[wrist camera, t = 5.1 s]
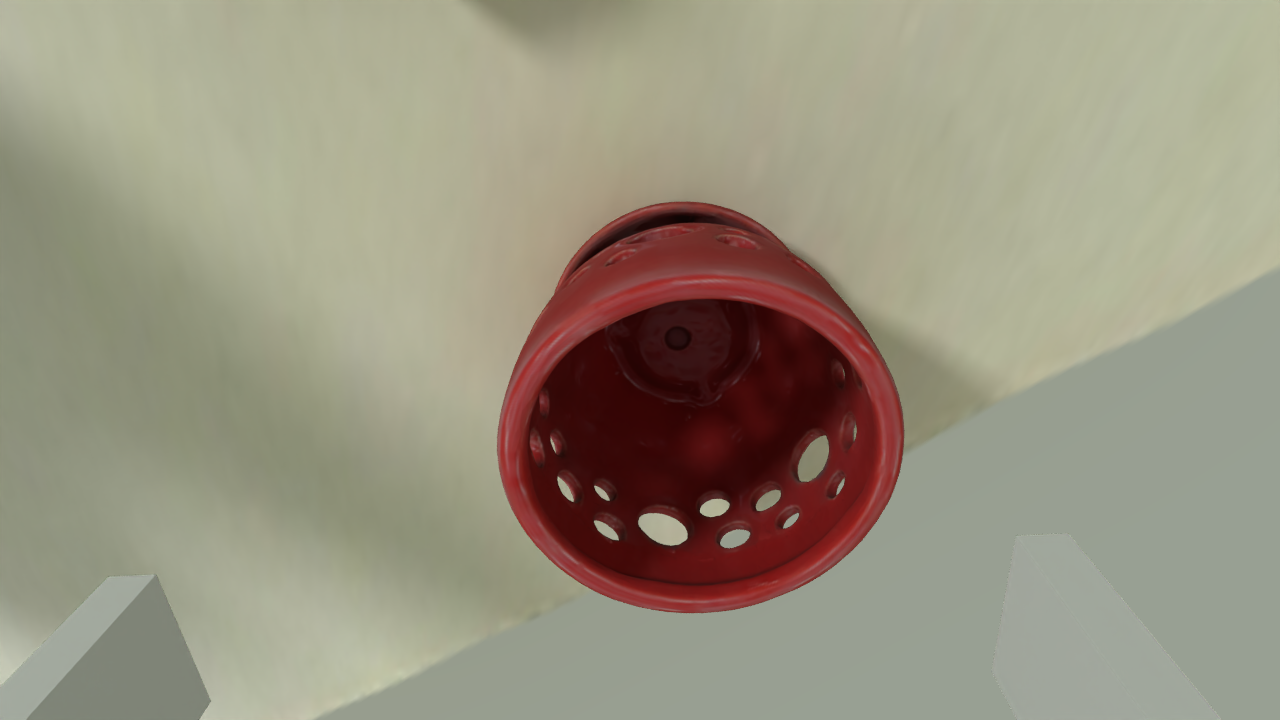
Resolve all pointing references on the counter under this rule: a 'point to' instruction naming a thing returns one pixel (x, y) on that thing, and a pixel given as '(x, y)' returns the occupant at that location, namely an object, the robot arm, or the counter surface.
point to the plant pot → (696, 413)
